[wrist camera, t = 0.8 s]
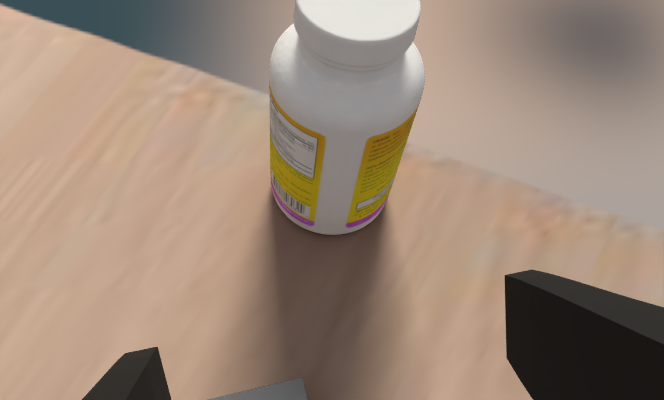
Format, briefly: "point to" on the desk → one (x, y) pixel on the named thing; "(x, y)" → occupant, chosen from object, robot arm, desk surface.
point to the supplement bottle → (342, 109)
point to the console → (272, 392)
